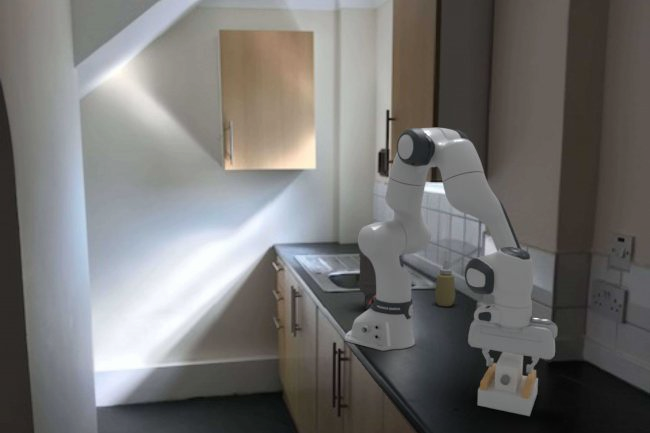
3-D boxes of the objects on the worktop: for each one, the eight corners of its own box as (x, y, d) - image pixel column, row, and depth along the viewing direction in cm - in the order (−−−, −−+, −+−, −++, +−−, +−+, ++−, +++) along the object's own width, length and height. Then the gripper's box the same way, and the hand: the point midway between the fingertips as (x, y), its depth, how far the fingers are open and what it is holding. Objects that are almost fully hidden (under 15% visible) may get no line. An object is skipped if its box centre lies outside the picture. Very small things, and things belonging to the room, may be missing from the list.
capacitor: (381, 315, 210) (383, 235, 207) (351, 309, 218) (352, 232, 215) (400, 307, 221) (402, 231, 217) (370, 302, 229) (372, 228, 225)
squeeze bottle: (455, 308, 221) (457, 262, 219) (434, 307, 222) (435, 261, 220) (454, 302, 229) (456, 258, 227) (434, 301, 230) (435, 258, 228)
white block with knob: (501, 374, 146) (502, 351, 145) (522, 377, 144) (523, 354, 143) (493, 391, 136) (494, 366, 135) (515, 395, 134) (516, 370, 133)
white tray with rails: (477, 405, 137) (478, 381, 137) (489, 384, 150) (490, 362, 149) (529, 416, 132) (531, 391, 131) (537, 393, 144) (538, 370, 144)
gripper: (559, 317, 136) (555, 372, 138) (473, 306, 146) (471, 358, 147) (556, 324, 131) (553, 382, 132) (467, 312, 140) (465, 366, 142)
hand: (509, 369), depth 140 cm, fingers open, 8 cm apart
